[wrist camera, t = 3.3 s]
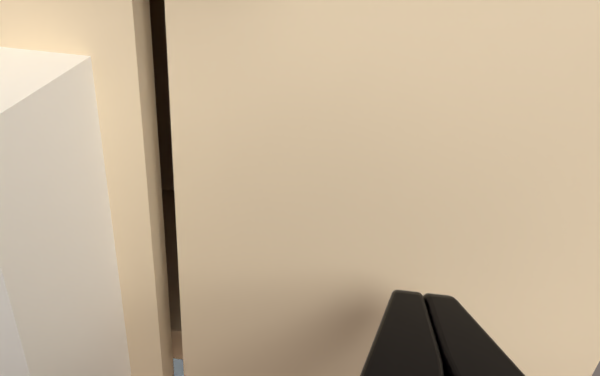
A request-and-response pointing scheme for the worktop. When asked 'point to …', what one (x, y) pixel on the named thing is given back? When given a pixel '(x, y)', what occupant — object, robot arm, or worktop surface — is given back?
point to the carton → (166, 167)
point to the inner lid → (384, 176)
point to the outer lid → (80, 192)
